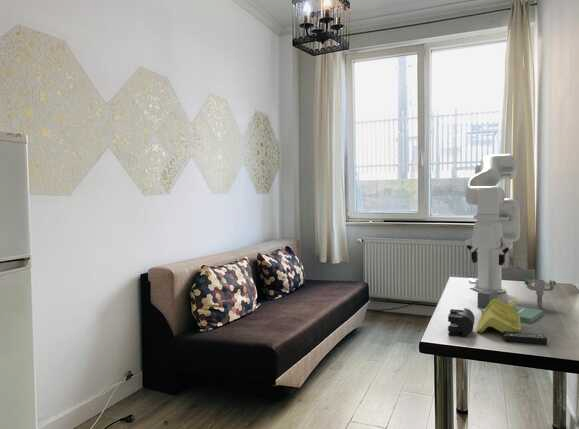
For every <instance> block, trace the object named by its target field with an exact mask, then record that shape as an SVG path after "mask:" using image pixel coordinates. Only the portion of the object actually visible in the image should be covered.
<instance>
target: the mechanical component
mask: <svg viewBox="0 0 579 429" xmlns="http://www.w3.org/2000/svg"><path fill="white" fill-rule="evenodd" d="M533 284H534V285H533ZM524 285H526V287H527V288H528V290H530V291H534V292H535V291H536V292H535V295H537V307H540V308H542V307H543V296H544V295H545V294H544V292H552V291H554V289H555V286H556V285H557V284H556V280H551V279H550V280H549V282H548V283H546V282H545V280H544V279H533V278H531V279H525V280H524ZM546 287H548V288H546Z"/></svg>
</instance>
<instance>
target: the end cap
mask: <svg viewBox="0 0 579 429" xmlns="http://www.w3.org/2000/svg"><path fill="white" fill-rule="evenodd" d="M447 322H449V325H447V332H448V333H447V335H448V336H449V337H457V338H465V337H467V336H468V335H470V334H472V333H473V330H474V325H475V314H474V312H472V311H471V310H470V309H469V308H466V307H464V308H463V309H453V308H451V309H450V310H449V313H448V315H447Z"/></svg>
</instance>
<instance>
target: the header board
mask: <svg viewBox="0 0 579 429" xmlns="http://www.w3.org/2000/svg"><path fill="white" fill-rule="evenodd" d="M507 302H508V304H507V305H509V306H511V307H512V308H514V309H515V310H516V311H517V312H518V313H519V315H520V323H521V322H522V323H528V324H532V323H534V322H535V321H536V320H537V319H539V318H540V317H541V316H543V314H544V310H542V309H536V308H531V307H523V306H517V299H515V298H513V299H510V300H508V301H507ZM485 309H486V308H482V309H480V310H481V315H482V314H483V312H484V310H485ZM481 315H480V316H481Z"/></svg>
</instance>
